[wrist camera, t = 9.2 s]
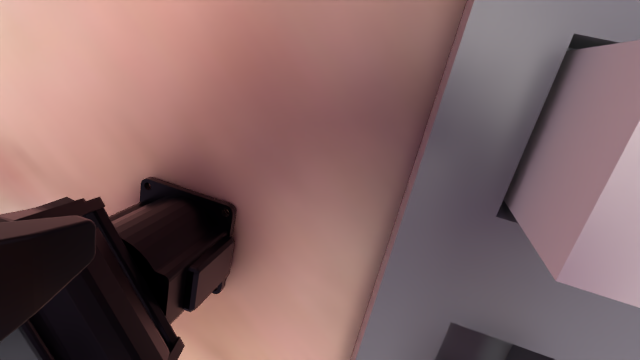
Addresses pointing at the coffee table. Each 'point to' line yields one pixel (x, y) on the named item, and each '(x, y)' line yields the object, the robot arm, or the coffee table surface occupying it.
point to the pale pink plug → (586, 174)
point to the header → (492, 204)
